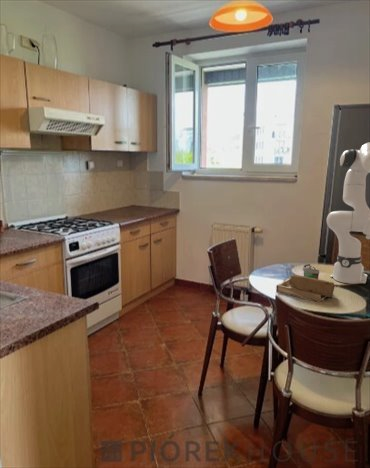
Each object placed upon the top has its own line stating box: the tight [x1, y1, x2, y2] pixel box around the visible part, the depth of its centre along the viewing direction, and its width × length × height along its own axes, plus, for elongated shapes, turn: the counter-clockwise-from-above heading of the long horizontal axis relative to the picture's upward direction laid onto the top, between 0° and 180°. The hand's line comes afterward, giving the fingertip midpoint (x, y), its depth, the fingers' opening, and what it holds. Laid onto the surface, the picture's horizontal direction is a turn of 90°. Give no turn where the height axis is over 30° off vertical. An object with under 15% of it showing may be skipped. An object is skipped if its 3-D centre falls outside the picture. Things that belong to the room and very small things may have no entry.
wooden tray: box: [275, 277, 327, 303], centre depth 180 cm, size 15×22×4 cm
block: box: [290, 274, 335, 298], centre depth 176 cm, size 11×8×20 cm
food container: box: [301, 263, 320, 279], centre depth 192 cm, size 12×6×10 cm, turn 4°
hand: (368, 238), depth 159 cm, fingers closed
